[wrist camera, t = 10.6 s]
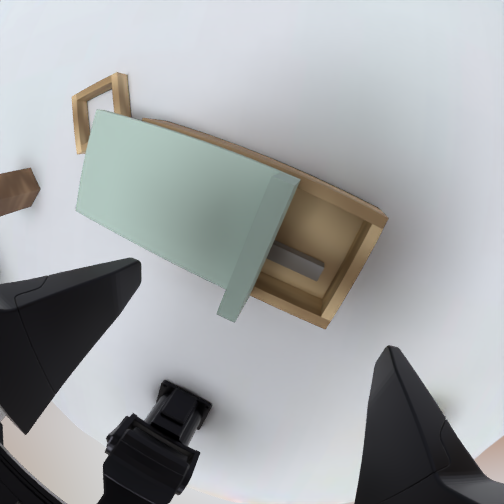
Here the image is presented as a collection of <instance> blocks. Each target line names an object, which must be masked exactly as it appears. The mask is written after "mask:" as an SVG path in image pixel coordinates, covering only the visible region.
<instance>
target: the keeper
mask: <svg viewBox="0 0 504 504" xmlns="http://www.w3.org/2000/svg"><path fill="white" fill-rule="evenodd" d="M110 89H112V93H113V104H114V113H116V114H120V115H124V116H127V117H131V110H130V101H129V91H128V79H127V75H125V74H122V73H118V72H117V73H115V74H113V75H111V76H109V77H107V78H105V79H103V80H101V81H99V82H97V83H95V84H93V85H91V86H90V87H88V88H86V89H84V90H82V91H81V92H79V93H77V94H76V95H74V96H72V109H73V122H74V132H75V142H76V150H77V154H86V149H87V145H88V141H89V137H90V130H89V121H88V109H87V101H88V100H90V99H92V98H94V97H96V96H98V95H100V94H102V93H104V92H106V91H108V90H110Z"/></svg>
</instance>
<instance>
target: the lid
mask: <svg viewBox="0 0 504 504" xmlns="http://www.w3.org/2000/svg"><path fill="white" fill-rule="evenodd" d="M300 180H301V179H298V178H296V177H294V176H292V175H289V174H287V173H285V172H282V171H280V170H278V169H275V168H273V167H270V166H268V165H266V164H263V163H261V162H258V161H256V160H253V159H251V158H248V157H246V156H243V155H241V154H238V153H235V152H233V151H230V150H227V149H225V148H222V147H219V146H217V145H214V144H211V143H208V142H206V141H203V140H200V139H197V138H194V137H191V136H188V135H185V134H182V133H179V132H176V131H173V130H170V129H167V128H164V127H161V126H158V125H154V124H151V123H148V122H144V121H141V120H138V119H134V118H131V117H127V116H124V115H120V114H116V113H113V112H109V111H105V110H96V114H95V117H94V121H93V125H92V129H91V132H90V137H89V141H88V145H87V149H86V154H85V159H84V163H83V168H82V174H81V179H80V185H79V191H78V198H77V204H76V211H77V212H79V213H80V214H82V215H84V216H86V217H87V218H89V219H91V220H93V221H95V222H96V223H98V224H100V225H102V226H104V227H105V228H107V229H109V230H111V231H113V232H115V233H116V234H118V235H120V236H122V237H124V238H126V239H127V240H129V241H131V242H133V243H135V244H137V245H139V246H141V247H143V248H144V249H146V250H148V251H150V252H152V253H154V254H156V255H158V256H160V257H162V258H164V259H166V260H168V261H169V262H171V263H173V264H175V265H177V266H179V267H181V268H183V269H185V270H187V271H189V272H191V273H193V274H195V275H197V276H199V277H201V278H203V279H205V280H207V281H209V282H211V283H214V284H216V285H218V286H220V287H222V288H224V289H226V291H225V293H224V296H223V299H222V301H221V304H220V306H219V309H218V311H217V315H219V316H221V317H224V318H226V319H228V320H230V321H232V322H234V323H235V321H236V320H237V318H238V316H239V314H240V312H241V310H242V309H243V307H244V305H245V303H246V301H247V299H248V298H249V296H250V294H251V292H252V289H253V287H254V285H255V283H256V280H257V278H258V276H259V274H260V272H261V269H262V267H263V265H264V263H265V260H266V258H267V256H268V253H269V251H270V249H271V247H272V244H273V242H274V240H275V238H276V235H277V233H278V231H279V228H280V226H281V224H282V222H283V219H284V217H285V215H286V212H287V210H288V208H289V205H290V203H291V201H292V199H293V196H294V194H295V192H296V189H297V187H298V185H299V182H300Z"/></svg>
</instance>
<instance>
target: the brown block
mask: <svg viewBox="0 0 504 504" xmlns="http://www.w3.org/2000/svg"><path fill="white" fill-rule="evenodd" d="M39 191H40V187H39V185H38V183H37V181H36V179H35V177H34V175H33V172H32V170H31V168H27V169H22V170H17V171H12V172H7V173H2V174H0V216H3V215H6V214H9V213H12V212H15V211H18V210H21V209H24V208H28V207H31V205H32V203H33V202H34V200H35V198H36V196H37V194H38V192H39Z"/></svg>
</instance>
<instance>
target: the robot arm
mask: <svg viewBox="0 0 504 504" xmlns="http://www.w3.org/2000/svg"><path fill="white" fill-rule="evenodd" d="M140 284H141V262H140V261H139V260H136V259H134V258H126V259H121V260H116V261H111V262H107V263H102V264H97V265H93V266H88V267H84V268H79V269H74V270H70V271H65V272H61V273H56V274H52V275H49V276H43V277H38V278H34V279H29V280H23V281H17V282H11V283H5V284H0V504H67V503H65V502H64V501H63V500H61V499H60V498H59V497H58V496H56V495H55V494H54V493H52V492H51V491H50V490H49V489H48V488H46V487H45V486H44V485H43V484H42V483H41V482H39V481H38V480H37V479H36V478H35V477H34V476H33V475H32V474H30V472H28V471H27V470H26V469H25V468H24V467H23V466H22V465H21V464H20V463H19V462H18V461H17V460H16V459H15V458H14V457H13V456H12V455H11V454H10V453H9V452H8V451H7V450H6V448H5V447H4V446H3V427H2V424H1V421H2V420H3V418H4V417H5V416H7V417H8V418H9V419H10V420H11V421H12V422H13V423H14V424H15V425H16V426H17V427H18V428H19V429H20V430H21V431H22V432H23V433H24V434H25V435H26V434H27V433H28V432H29V431H30V429H31V428H32V426H33V425H34V424H35V422H36V421H37V419H38V418H39V416H40V415H41V414H42V412H43V411H44V410H45V408H46V407H47V405H48V404H49V403H50V401H51V400H52V399H53V397H54V396H55V394H56V393H57V392H58V391H59V389H60V388H61V387H62V385H63V384H64V383H65V381H66V380H67V379H68V378H69V376H70V375H71V374H72V372H73V371H74V370H75V369H76V367H77V366H78V365H79V364H80V362H81V361H82V360H83V358H84V357H85V356H86V355H87V354H88V352H89V351H90V350H91V349H92V347H93V346H94V345H95V344H96V342H97V341H98V340H99V339H100V338H101V336H102V335H103V334H104V333H105V332H106V330H107V329H108V328H109V327H110V326H111V324H112V323H113V322H114V321H115V320H116V318H117V317H118V316H119V315H120V313H121V312H122V311H123V309H124V308H125V306H126V305H127V303H128V302H129V300H130V299H131V297H132V296H133V294H134V293H135V292H136V290H137V289H138V287H139V286H140ZM211 407H212V405H211V404H210V403H208V402H206V401H204V400H202V399H200V398H198V397H196V396H194V395H192V394H190V393H188V392H186V391H184V390H182V389H180V388H179V387H177V386H175V385H173V384H171V383H169V382H167V381H163V382H162V383H161V387H160V390H159V394H158V398H157V402H156V405H155V406H154V407H153V409H152V410H151V412H150V413H149V415H148V416H147V418H146V419H145V420H144V421H143V420H142V419H140V418H139V417H137V415H135V414H134V413H133V414H132V415H131V416H130V417H128V416H126V417H125V418H124V419H123V420H122V422H121V423H120V424H119V425H118V426H117V427H116V428H115V429H114V430H113V431H112V432H111V433H110V434H109V435H108V436H107V438H106V440H107V443H108V444H107V446H106V447H107V448H106V451H105V453H106V454H108V455H109V456H108V457H107V459H106V460H105V462H104V464H103V480H104V494H103V496H102V497H101V499H100V500H99V502H98V503H97V504H168V503H170V501H171V500H172V498H173V496H174V495H175V494H177V495H180V494H181V493H182V491H183V490H184V489H185V487H186V486H187V484H188V482H189V480H190V478H191V476H192V474H193V471H194V468H195V466H196V463H197V460H198V457H199V455H200V452H199V451H197V450H196V451H195V450H193V449H192V448H190V447H188V444H189V443H190V441H191V439H192V437H193V435H194V433H195V431H196V429H197V430H199V429H200V428H201V426H202V424H203V422H204V420H205V419H206V417H207V415H208V413H209V411H210V409H211ZM445 419H446V418H445V416H444V415H443V413H442V411H441V410H440V408H439V407H438V405H437V404H436V402H435V400H434V399H433V397H432V396H431V394H430V393H429V391H428V390H427V388H426V387H425V385H424V384H423V382H422V381H421V379H420V378H419V376H418V375H417V373H416V372H415V370H414V369H413V367H412V366H411V365H410V363H409V362H408V360H407V359H406V357H405V356H404V355H403V353H402V352H401V350H400V349H399V348H398V347H394V346H391V345H388V346H387V347H386V348H385V349H384V351H383V352H382V354H381V355H380V357H379V358H378V360H377V361H376V364H375V367H374V373H373V379H372V385H371V390H370V396H369V401H368V409H367V419H366V430H365V439H364V447H363V455H362V462H361V469H360V475H359V481H358V487H357V492H356V498H355V503H354V504H504V484H503V483H499V482H496V481H493V480H491V479H490V478H488V477H487V476H486V475H485V474H484V473H483V472H482V471H481V469H480V468H479V467H478V465H477V464H476V462H475V461H474V459H473V458H472V457H471V455H470V454H469V452H468V451H467V450H466V448H465V447H464V445H463V444H462V443H461V441H460V440H459V438H458V437H457V435H456V434H455V432H454V430H453V429H452V427H451V426H450V424H449V422H448V421H447V420H445Z"/></svg>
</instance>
